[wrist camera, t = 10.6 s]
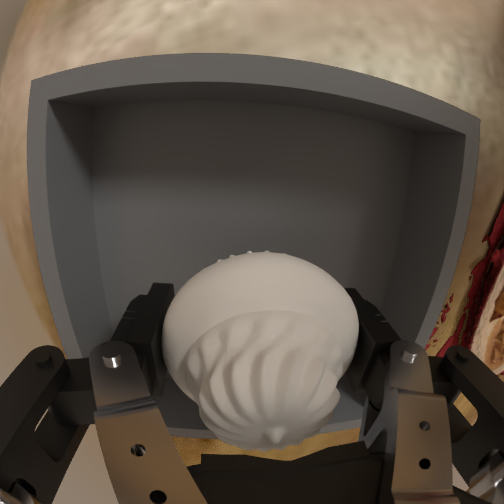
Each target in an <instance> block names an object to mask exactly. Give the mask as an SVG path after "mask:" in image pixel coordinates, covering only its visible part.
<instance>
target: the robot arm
mask: <svg viewBox="0 0 504 504" xmlns="http://www.w3.org/2000/svg"><path fill="white" fill-rule="evenodd" d="M344 289H345V290H346V292H347V293H348V295H349V296H350V297H351V299H352V301H353V303H354V305H355V308H356V311H357V315H358V322H359V335H358V342H357V347H356V351H355V354H354V357H353V359H352V362H351V364H350V365H349V367H348V369H347V370H346V372H345V375H346V377H347V379H348V381H349V383H350V386H351V388H352V390H353V392H354V394H360V393H367V395H368V397H367V399H366V401H365V404H364V410H363V416H362V423H361V429H360V434H359V440H358V442H354V443H349V444H344V445H339V446H333V447H328V448H325V449H323V450H320V451H318V452H315V453H312V454H310V455H307V456H304V457H301V458H298V459H295V460H292V461H282V460H274V459H267V458H261V457H255V456H249V455H218V454H201V464H197V465H192V466H188V467H186V465H185V463H184V462H183V460H182V458H181V456H180V454H179V452H178V450H177V448H176V446H175V444H174V442H173V440H172V438H171V435H170V433H169V431H168V429H167V427H166V425H165V422H164V420H163V418H162V416H161V413H160V411H159V409H158V406H157V404H156V402H155V400H154V399H152V397H157V398H162V394H163V389H164V384H165V379H166V374H167V368H166V365H165V362H164V359H163V354H162V329H163V323H164V319H165V316H166V313H167V310H168V308H169V306H170V304H171V302H172V300H173V299H174V297H175V294H174V285H173V283H156V282H154V283H153V284H152V286H151V288H150V290H149V292H148V294H147V295H140V294H139V295H138V296H137V297H135V298H134V299H133V300H131V301H130V303H129V305H128V307H127V309H126V311H125V312H124V314H123V316H122V318H121V320H120V322H119V324H118V326H117V328H116V330H115V332H114V334H113V336H112V338H111V340H110V341H107V342H104V343H101V344H99V345H98V346H96V347H95V348H94V349H93V350H92V351H91V353H90V355H89V357H88V358H79V359H65V357H64V354H63V352H62V351H61V350H60V349H59V348H57V347H55V346H50V345H46V346H41V347H38V348H35V349H34V350H32V351H31V352H30V353H29V354H28V355H27V356H26V357H25V358H24V359H23V360H22V362H21V363H20V364H19V365H18V366H17V367H16V369H15V370H14V371H13V372H12V373H11V374H10V376H9V377H8V378H7V379H6V380H5V382H4V383H3V384H2V385H1V387H0V504H52V502H53V500H54V497H55V495H56V493H57V491H58V488H59V486H60V484H61V482H62V480H63V477H64V475H65V473H66V471H67V469H68V467H69V465H70V462H71V461H72V458H73V457H74V455H75V452H76V450H77V448H78V446H79V444H80V442H81V440H82V438H83V437H84V434H85V432H86V431H87V429H88V427H89V425H90V424H95V425H96V429H97V434H98V438H99V442H100V446H101V450H102V453H103V457H104V461H105V464H106V467H107V470H108V474H109V477H110V480H111V483H112V486H113V489H114V492H115V495H116V498H117V500H118V503H119V504H504V382H503V381H502V380H501V379H500V378H499V377H498V376H497V375H496V374H495V373H494V372H493V371H492V370H491V369H490V368H489V367H488V366H487V365H486V364H484V363H483V362H482V361H481V360H480V359H479V358H478V357H477V356H476V355H475V354H474V353H473V352H472V351H471V350H469V349H467V348H466V347H463V346H459V345H453V346H450V347H449V348H448V349H447V351H446V353H445V355H444V356H443V357H435V356H428V354H427V352H426V351H425V349H424V348H423V347H422V346H420V345H419V344H417V343H415V342H412V341H409V340H401V338H400V337H399V336H398V334H397V333H396V332H395V330H394V329H393V328H392V326H391V325H390V324H389V323H388V322H386V319H385V317H384V316H383V315H382V314H381V312H380V311H379V310H378V308H377V307H376V306H375V305H373V304H372V303H370V302H369V301H367V300H364V299H363V298H362V296H361V295H360V294H359V292H358V291H357V290H356V289H355V288H344ZM461 392H462V393H463V394H464V396H465V397H466V398H467V399H468V400H469V401H470V402H471V403H472V405H473V406H474V407H475V408H476V410H477V412H478V418H477V421H476V422H475V424H474V425H473V426H471V425H470V423H469V422H468V421H467V420H466V418H465V417H464V416H463V415H462V414H461V412H460V411H459V410H458V409H457V408H456V406H455V405H454V404H453V403H454V402H455V400H456V399H457V397H458V396H459V394H460V393H461ZM47 408H48V412H47V413H46V415H45V416H44V418H43V419H42V421H41V423H40V424H39V426H38V427H37V429H36V431H35V428H36V425H37V424H38V422H39V420H40V419H41V417H42V416H43V414H44V413H45V411H46V409H47ZM452 463H453V465H454V466H455V468H456V469H457V471H458V472H459V473H460V475H461V476H462V477H463V479H464V481H465V482H466V483H467V485H468V487H469V489H468V490H467V491H466V492H465V491H463V490H461V489H459V488H457V487H455V486H453V485H452Z"/></svg>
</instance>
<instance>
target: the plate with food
mask: <svg viewBox="0 0 504 504" xmlns="http://www.w3.org/2000/svg"><path fill="white" fill-rule="evenodd" d="M487 239H488V243H489V246H490V249H489V251H488V253H487V256H486V258H485V259H483V260H482V261H480V262H479V263H478V264H477V265H476V266H475V267H474V269H473V270H472V272H471V274H473V275H474V277H473V284H472V287H471V289H470V290H469V292H468V296H467V299H468V297H469V300H470V301H469V302H468V304H467V306H466V307H465V308H464V311H466V309H468V308H469V307H470V310H469V313H470V314H469V317H468V321H467V325H466V329H465V331H464V333H463V337H462V340H463V341H462V343H461V346H463V347H466V348H467V349H469V350H471V351H472V352H473V353H474V354H475V355H476V356H477V357H478V358H479V359H480V360H481V361H482V362H483V363H484V364H486V365H487V366H488V367H489V368H490V369H491V370H492V371H493V372H494V373H495V374H496V375H497V376H498V375H499V374H501V373H502V374H501V375H504V203H503V204H502V207H501V210H500V212H499V216H498V218H497V219H496V222H495V225H494V229H493V232H492V234H491V235H490V236H488V234H487V235H486V236H485V238H484V240H483V241H482V242H484V241H486V240H487ZM471 278H472V277H471V276H470V280H471ZM452 298H453V296H452V297H451V299H450V303H451V302H452V300H453V299H452ZM447 305H448V303H447ZM446 308H447V310H444V311H443V310H442V312H443V314H442V316H441V322H442V323H443V322H444V321H445V319H446V316H445V313H447V312H448V311H449V310H450V308H449V306H447V307H446ZM465 316H466V314H465V313H464V314H463V315H462V317H461V319H460V321H459V323H458V326H457V328H456V329H457V330H456V331H455V332H454V335H453V336H451V337H450V338H449V339H448V340H447V342H446V343H445V344H444V346H443V347H442V348H441V349H440V351H439V352H438V353H437V355H436V357H443V356H444V355H445V353H446V351H447V349H448V348H449V347H450V346H453V345H458V342H459V341H458V340H459V333H461V330H462V327H463V323H464V320H465V318H466V317H465ZM436 323H438V324H439V322H436ZM437 330H438V327H437V328H434V329H433V332H432V334H431V337H432V336H433V335H434V334H435V332H436V331H437ZM457 331H458V333H456V332H457ZM442 334H443V333H442ZM431 337H430V339H431ZM430 339H429V340H430ZM436 341H437V339H436V340H434V341H433V342H436ZM430 345H431V344H429V345H426V347H425V350H426V349H427V348H428V347H429V346H430ZM434 346H435V345H434ZM434 346H433V347H434Z"/></svg>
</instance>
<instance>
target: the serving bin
mask: <svg viewBox="0 0 504 504" xmlns="http://www.w3.org/2000/svg"><path fill="white" fill-rule="evenodd" d="M479 140H480V119H479V118H477V117H475V116H473V115H471V114H469V113H467V112H465V111H463V110H461V109H459V108H457V107H455V106H453V105H450V104H448V103H446V102H444V101H441V100H439V99H437V98H434V97H432V96H429V95H427V94H424V93H422V92H419V91H416V90H414V89H411V88H408V87H405V86H402V85H399V84H396V83H393V82H390V81H387V80H384V79H381V78H377V77H374V76H370V75H367V74H363V73H359V72H355V71H351V70H347V69H343V68H338V67H334V66H329V65H324V64H319V63H313V62H307V61H301V60H294V59H287V58H279V57H271V56H260V55H248V54H229V53H184V54H165V55H153V56H143V57H134V58H126V59H120V60H113V61H107V62H102V63H96V64H91V65H87V66H82V67H78V68H73V69H69V70H65V71H61V72H58V73H54V74H51V75H47V76H44V77H41V78H38V79H34V80H32V81H31V89H30V98H29V109H28V125H27V173H28V190H29V201H30V211H31V219H32V226H33V233H34V239H35V245H36V251H37V256H38V261H39V266H40V270H41V275H42V279H43V283H44V287H45V291H46V295H47V298H48V302H49V305H50V309H51V312H52V315H53V319H54V322H55V325H56V328H57V331H58V334H59V337H60V340H61V342H62V345H63V348H64V350H65V353H66V356H67V358H68V359H79V358H88V357H89V355H90V353H91V351H92V350H93V349H94V348H95V347H96V346H98V345H99V344H101V343H104V342H107V341H110V340H111V338H112V336H113V334H114V332H115V330H116V328H117V326H118V324H119V322H120V320H121V318H122V316H123V314H124V312H125V311H126V309H127V307H128V305H129V303H130V301H131V300H133V299H134V298H135V297H137V296H138V295H139V294H140V295H147V294H148V292H149V290H150V288H151V286H152V284H153V283H154V282H156V283H173V285H174V294H175V295H176V294H177V293H178V291H179V290H180V289H181V288H182V286H183V285H184V284H185V283H186V282H187V281H188V280H190V279H191V278H192V277H193V276H194V275H196V274H197V273H199V272H200V271H201V270H203V269H204V268H207V267H209V266H210V265H212V264H215V263H217V261H218V260H219V259H222V260H224V259H227V258H229V257H230V255H235V256H237V255H241V254H246V253H247V252H248V251H251V252H252V253H255V252H264V251H266V250H268V251H269V252H273V253H281V254H282V253H286V254H287V255H290V256H294V257H297V258H300V259H303V260H305V261H308V262H310V263H312V264H314V265H316V266H317V267H319V268H321V269H322V270H324V271H325V272H327V273H328V274H329V275H330V276H332V277H333V278H334V279H335V280H336V281H337V282H338V283H339V284H340V285H341V286H342V287H343V288H355V289H356V290H357V291H358V292H359V294H360V295H361V296H362V298H363V299H364V300H367V301H369V302H370V303H372V304H373V305H375V306H376V307H377V308H378V310H379V311H380V312H381V314H382V315H383V316H384V317H385V319H386V322H388V323H389V324H390V325H391V326H392V328H393V329H394V330H395V332H396V333H397V334H398V336H399V337H400V338H401V340H409V341H412V342H415V343H417V344H419V345H420V346H422V347H423V348H424V349H425V347H426V345H427V343H428V341H429V338H430V336H431V334H432V332H433V329H434V327H435V324H436V322H437V320H438V317H439V315H440V312H441V309H442V307H443V304H444V302H445V299H446V296H447V293H448V290H449V287H450V285H451V282H452V278H453V275H454V272H455V269H456V266H457V262H458V259H459V255H460V252H461V248H462V244H463V240H464V236H465V232H466V228H467V223H468V219H469V214H470V209H471V204H472V198H473V192H474V186H475V179H476V171H477V163H478V153H479ZM336 388H337V389H338V391H339V393H340V399H339V402H338V404H337V405H336V407H335V408H334V410H333V416H332V418H331V420H330V421H329V422H328V423H327V424H326V425H325V426H323V427H321V428H320V430H319V432H318V433H317V434H321V433H328V432H334V431H340V430H346V429H352V428H357V427H361V423H362V416H363V410H364V404H365V401H366V399H367V397H368V395H367V393H360V394H354V392H353V390H352V388H351V386H350V383H349V381H348V379H347V377H346V375H345V373H344V375H343V376H342V377H341V378H340V379H339V381H338V382H337V385H336ZM152 399H154V400H155V402H156V404H157V406H158V409H159V411H160V413H161V416H162V418H163V420H164V422H165V425H166V427H167V429H168V431H169V433H170V435H171V436H178V437H190V438H207V439H219V438H217V437H216V436H215V435H214V433H213V432H212V431H211V430H210V429H209V428H207V426H206V425H205V424H204V423H203V421H202V419H201V417H200V415H199V406H198V404H197V403H196V402H195V401H193V400H192V399H191V398H190V397H188V396H187V395H186V394H185V393H184V392H183V391H182V390H181V389H180V388H179V386H178V385H177V384H176V383H175V381H174V380H173V378H172V377H171V375H170V374H169V372H168V370H167V374H166V379H165V384H164V389H163V394H162V398H157V397H152Z"/></svg>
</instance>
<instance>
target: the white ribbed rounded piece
mask: <svg viewBox="0 0 504 504" xmlns="http://www.w3.org/2000/svg"><path fill="white" fill-rule="evenodd" d="M358 335H359V322H358V315H357V311H356V308H355V305H354V303H353V301H352V299H351V297H350V296H349V295H348V293H347V292H346V290H345V289H344V288H343V287H342V286H341V285H340V284H339V283H338V282H337V281H336V280H335V279H334V278H333V277H332V276H330V275H329V274H328V273H327V272H325V271H324V270H322V269H321V268H319V267H317V266H316V265H314V264H312V263H310V262H308V261H305V260H303V259H300V258H297V257H294V256H290V255H287V254H286V253H282V254H281V253H273V252H269V251H268V250H266V251H264V252H255V253H252V252H251V251H248V252H247V253H246V254H241V255H237V256H235V255H230V257H229V258H227V259H224V260H222V259H219V260H218V261H217V263H215V264H212V265H210V266H209V267H207V268H204V269H203V270H201V271H200V272H199V273H197V274H196V275H194V276H193V277H192V278H191V279H190V280H188V281H187V282H186V283H185V284H184V285H183V286H182V288H181V289H180V290H179V291H178V293H177V294H176V295H175V297H174V299H173V300H172V302H171V304H170V306H169V308H168V310H167V313H166V316H165V319H164V323H163V329H162V354H163V359H164V362H165V365H166V368H167V370H168V372H169V374H170V375H171V377H172V378H173V380H174V381H175V383H176V384H177V385H178V386H179V388H180V389H181V390H182V391H183V392H184V393H185V394H186V395H187V396H188V397H190V398H191V399H192V400H193V401H195V402H196V403H197V404H198V406H199V415H200V417H201V419H202V421H203V423H204V424H205V425H206V426H207V428H209V429H210V430H211V431H212V432H213V433H214V435H215V436H216V437H217V438H219V439H220V440H221V441H223V442H225V443H227V444H230V445H234V446H237V447H239V448H241V449H244V450H255V449H257V450H259V451H265V452H266V451H269V450H271V449H274V448H275V449H279V450H283V449H285V448H286V447H287V446H288V445H299V444H301V443H302V442H303V440H304V439H306V438H310V437H313V436H315V435H317V433H318V432H319V430H320V428H321V427H323V426H325V425H326V424H327V423H328V422H329V421H330V420H331V418H332V416H333V410H334V408H335V407H336V405H337V404H338V402H339V399H340V393H339V391H338V389H337V388H336V385H337V382H338V381H339V379H340V378H341V377H342V376H343V375H344V373H345V372H346V370H347V369H348V367H349V365H350V364H351V362H352V359H353V357H354V354H355V351H356V347H357V342H358Z"/></svg>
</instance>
